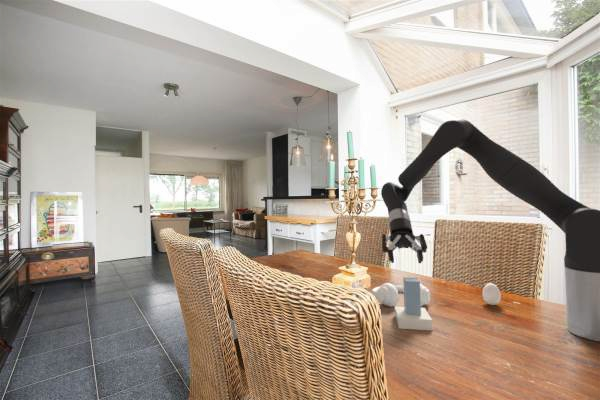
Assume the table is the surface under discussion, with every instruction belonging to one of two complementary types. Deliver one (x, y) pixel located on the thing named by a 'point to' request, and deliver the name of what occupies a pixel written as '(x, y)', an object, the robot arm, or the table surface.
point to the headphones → (390, 294)
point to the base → (413, 320)
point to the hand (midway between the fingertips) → (406, 261)
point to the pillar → (412, 296)
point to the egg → (491, 294)
